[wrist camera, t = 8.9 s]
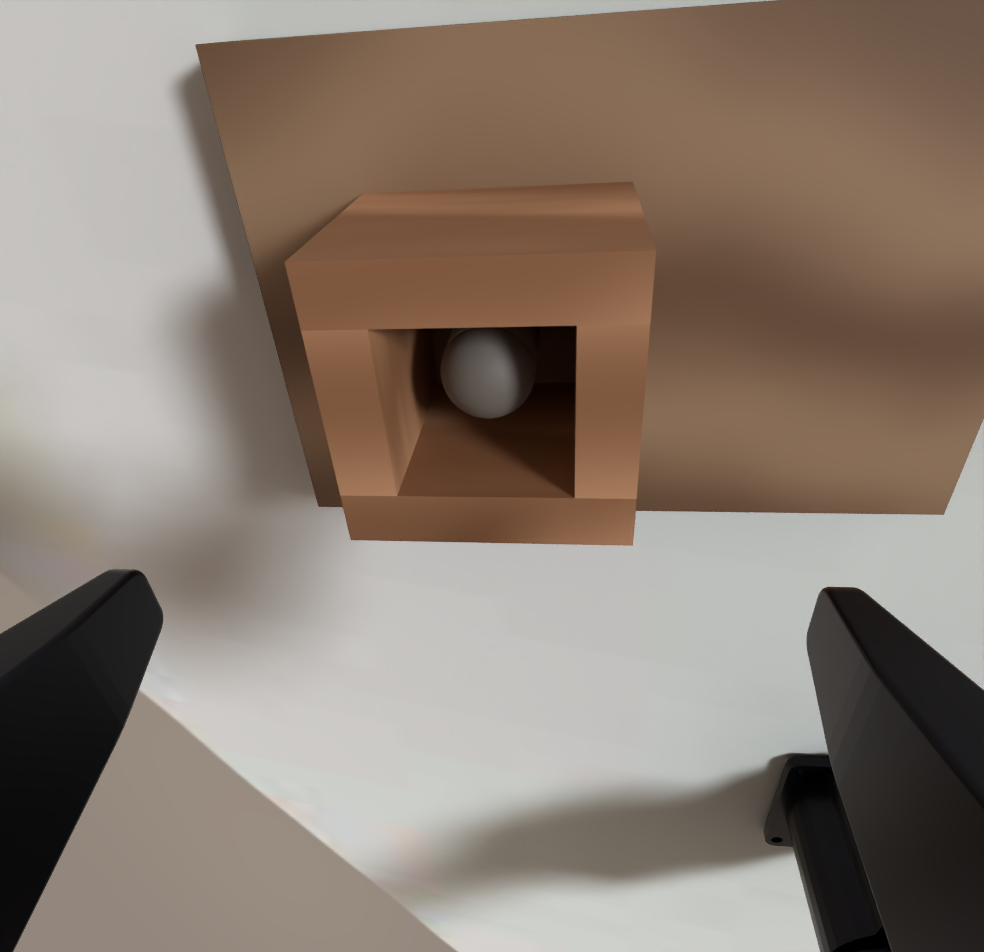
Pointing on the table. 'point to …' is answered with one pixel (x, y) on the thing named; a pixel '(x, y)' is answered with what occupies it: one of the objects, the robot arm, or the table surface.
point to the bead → (470, 304)
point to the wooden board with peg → (676, 222)
